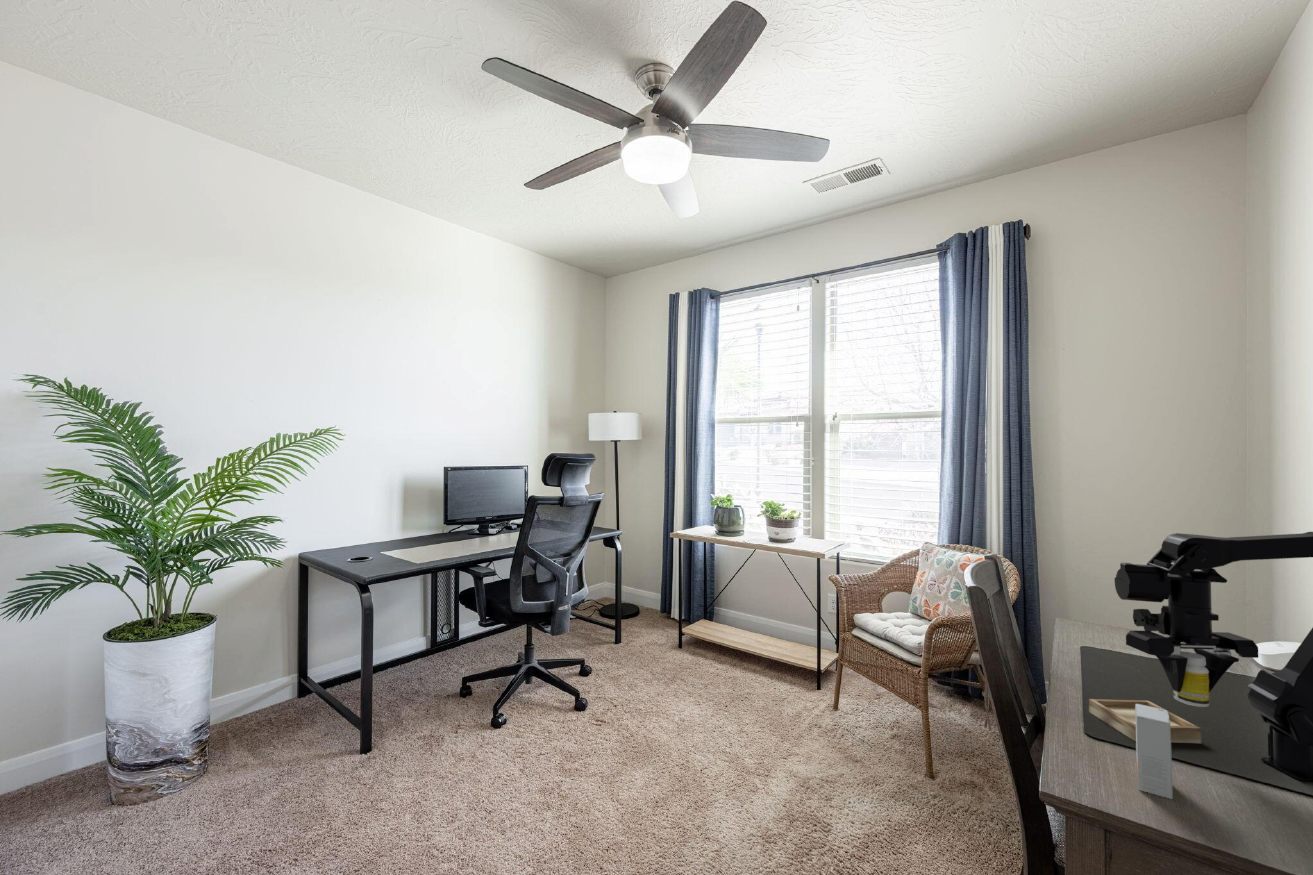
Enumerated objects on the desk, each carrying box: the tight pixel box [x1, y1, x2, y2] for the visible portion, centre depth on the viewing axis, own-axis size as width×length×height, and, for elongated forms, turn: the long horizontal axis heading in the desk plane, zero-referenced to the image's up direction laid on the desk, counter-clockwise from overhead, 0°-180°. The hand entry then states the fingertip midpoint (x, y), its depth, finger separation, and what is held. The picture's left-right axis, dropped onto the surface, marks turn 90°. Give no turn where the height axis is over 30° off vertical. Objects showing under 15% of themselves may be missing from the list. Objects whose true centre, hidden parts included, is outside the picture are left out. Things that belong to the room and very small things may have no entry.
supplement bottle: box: [1172, 650, 1211, 708], centre depth 101 cm, size 5×5×8 cm
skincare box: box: [1135, 704, 1174, 800], centre depth 91 cm, size 6×4×12 cm
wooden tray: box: [1088, 698, 1202, 744], centre depth 112 cm, size 12×12×3 cm
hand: (1191, 691), depth 101 cm, fingers closed on supplement bottle, 5 cm apart
